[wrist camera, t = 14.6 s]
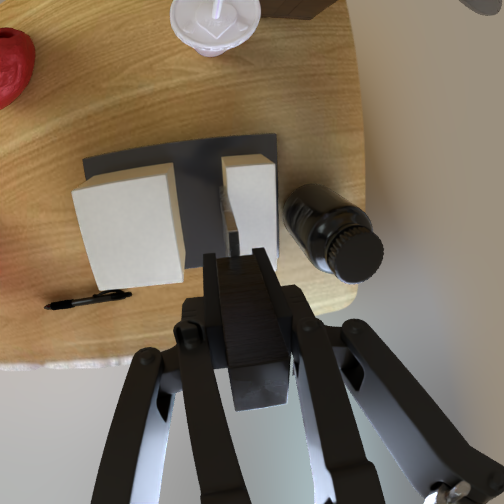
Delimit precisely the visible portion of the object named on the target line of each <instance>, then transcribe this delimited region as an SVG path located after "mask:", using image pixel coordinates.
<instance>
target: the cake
mask: <svg viewBox="0 0 504 504" xmlns="http://www.w3.org/2000/svg"><path fill="white" fill-rule="evenodd" d="M71 192H72V197H73V202H74V206H75V210H76V214H77V219H78V223H79V226H80V230H81V234H82V238H83V241H84V245H85V248H86V252H87V255H88V258H89V262H90V265H91V268H92V271H93V274H94V277H95V280H96V283H97V286H98V289H99V291H101V290H111V289H121V288H131V287H141V286H150V285H160V284H169V283H178V282H183V278H184V265H185V254H186V252H185V246H184V240H183V233H182V227H181V220H180V213H179V206H178V199H177V191H176V183H175V175H174V167H173V163H165V164H158V165H152V166H145V167H139V168H133V169H127V170H122V171H116V172H111V173H106V174H101V175H96V176H93V177H91V178H90V179H88V180H87V181H86V182H84V183H83V184H81V185H80V186H78V187H77V188H75V189H74V190H73V191H71Z"/></svg>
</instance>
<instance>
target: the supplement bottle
mask: <svg viewBox="0 0 504 504" xmlns="http://www.w3.org/2000/svg"><path fill="white" fill-rule="evenodd" d="M283 221H284V224H285V227H286V229H287V230H288V232H289V233H290V235H291V236H292V237H293V239H294V240H295V241H296V243H297V244H298V245H299V247H300V248H301V250H302V251H303V252H304V254H305V255H306V256H307V258H308V259H309V261H310V262H311V263H312V264H313V265H314V266H315V267H316V268H317V269H319V270H320V271H322V272H325V273H329V274H335V276H336V277H337V278H338V279H339V280H340V281H342V282H344V283H348V284H356V283H357V284H359V283H361V282H364V281H365V280H368V279H369V278H370V277H372V275H373V274H374V273H376V271H377V269H378V268H379V266H380V265H381V262H382V259H383V255H384V252H383V251H384V248H383V244H382V242H381V240H380V239H379V237H378V236H377V235H376V234H374V233H373V228H372V224H371V221H370V219H369V218H368V216H367V215H366V214H365V212H363V211H362V210H361V209H360V208H358V207H357V206H355V205H354V204H352V203H351V202H349V201H348V200H346V199H345V198H343V197H342V196H340V195H339V194H337V193H335V192H334V191H332V190H331V189H329V188H327V187H325V186H323V185H320V184H307V185H304V186H301V187H299V188H298V189H296V190H295V191H294V192H293V193H292V194H291V195H290V196H289V197H288V199H287V201H286V203H285V205H284V209H283Z"/></svg>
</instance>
